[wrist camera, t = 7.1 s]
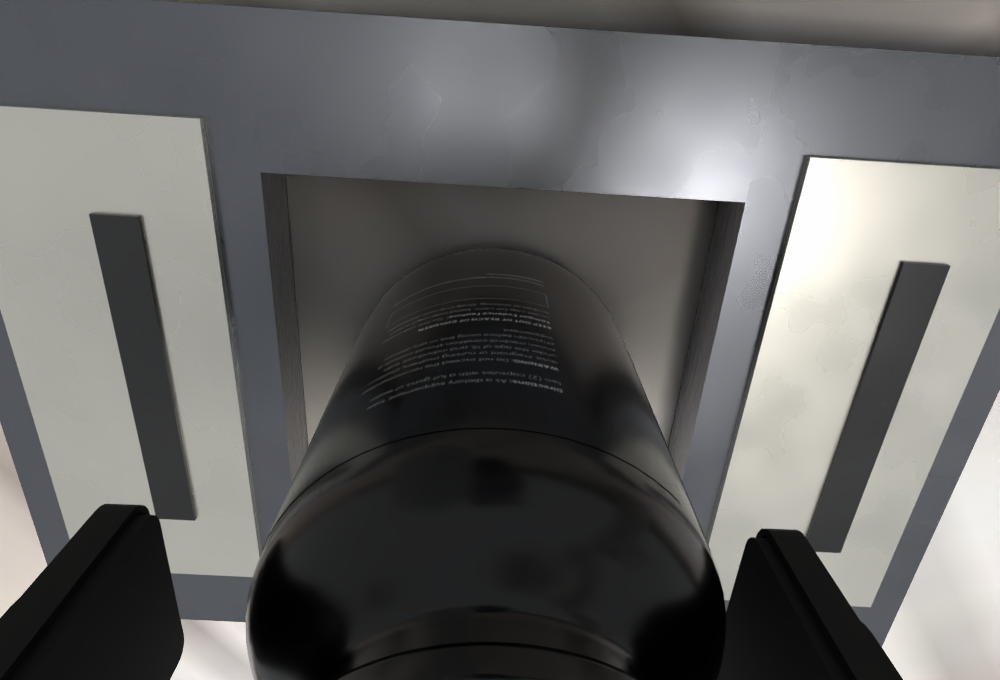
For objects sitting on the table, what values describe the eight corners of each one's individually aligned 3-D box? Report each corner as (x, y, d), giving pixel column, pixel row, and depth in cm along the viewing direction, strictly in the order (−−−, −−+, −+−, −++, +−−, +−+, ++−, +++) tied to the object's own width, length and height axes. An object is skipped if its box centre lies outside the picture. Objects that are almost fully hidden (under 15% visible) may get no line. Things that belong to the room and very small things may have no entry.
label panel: (-76, -14, 13) (-161, -22, 11) (1081, 64, 13) (1163, 67, 12) (94, 574, 20) (56, 621, 18) (853, 610, 20) (884, 660, 18)
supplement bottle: (324, 418, 17) (13, 1072, 6) (422, 192, 14) (178, 637, 4) (547, 506, 18) (614, 1178, 7) (675, 312, 16) (1063, 913, 5)
